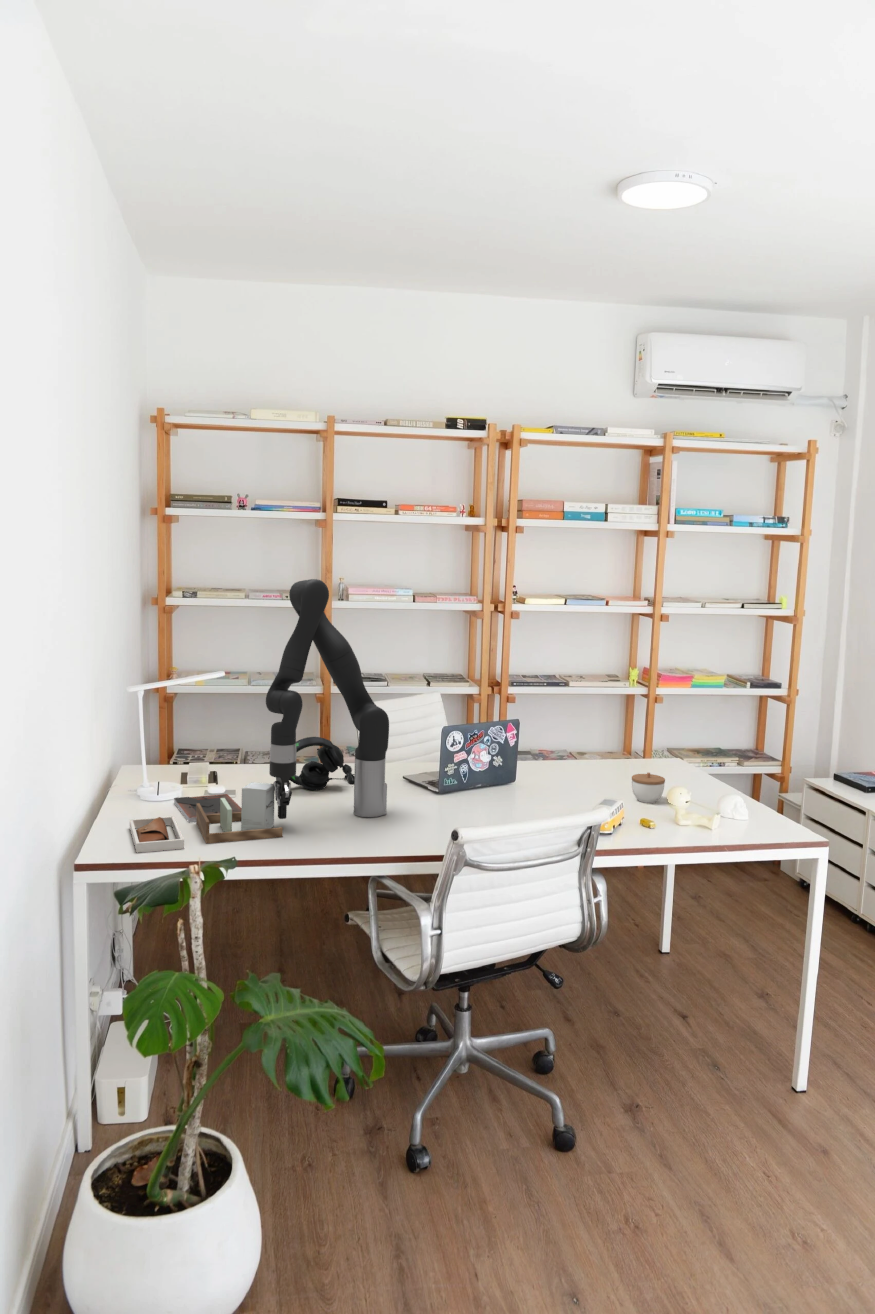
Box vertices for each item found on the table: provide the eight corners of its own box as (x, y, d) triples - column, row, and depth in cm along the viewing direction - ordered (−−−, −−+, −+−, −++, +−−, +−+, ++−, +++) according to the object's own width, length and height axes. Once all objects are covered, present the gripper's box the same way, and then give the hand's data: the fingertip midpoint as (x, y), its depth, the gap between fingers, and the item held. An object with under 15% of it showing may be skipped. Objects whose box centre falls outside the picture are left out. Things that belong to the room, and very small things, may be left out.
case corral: (174, 824, 275) (174, 816, 275) (184, 848, 255) (184, 839, 254) (129, 828, 270) (129, 819, 270) (136, 852, 250) (136, 843, 250)
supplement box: (265, 833, 270) (265, 789, 268) (240, 831, 271) (240, 787, 270) (274, 826, 277) (275, 783, 275) (250, 823, 278) (251, 781, 277)
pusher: (224, 824, 276) (224, 797, 275) (231, 837, 265) (231, 809, 264) (220, 825, 276) (220, 798, 275) (227, 837, 265) (227, 809, 264)
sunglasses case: (133, 829, 269) (145, 808, 270) (155, 840, 272) (168, 819, 272) (136, 849, 252) (150, 827, 253) (160, 861, 255) (174, 839, 255)
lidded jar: (636, 794, 325) (638, 767, 324) (667, 799, 320) (669, 772, 319) (625, 801, 316) (627, 773, 315) (657, 806, 311) (659, 778, 310)
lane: (268, 818, 284) (268, 798, 284) (282, 836, 267) (282, 815, 267) (196, 823, 277) (196, 803, 276) (206, 843, 260) (206, 821, 259)
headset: (342, 810, 326) (274, 779, 309) (333, 784, 336) (266, 753, 320) (376, 773, 321) (308, 740, 305) (365, 748, 332) (299, 715, 315)
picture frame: (174, 805, 297) (189, 825, 277) (174, 797, 296) (189, 816, 277) (227, 800, 304) (245, 819, 285) (227, 793, 304) (245, 811, 284)
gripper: (301, 763, 269) (300, 823, 271) (290, 753, 282) (289, 810, 284) (275, 765, 267) (274, 825, 269) (265, 754, 279) (264, 812, 281)
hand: (282, 818), depth 276 cm, fingers closed
